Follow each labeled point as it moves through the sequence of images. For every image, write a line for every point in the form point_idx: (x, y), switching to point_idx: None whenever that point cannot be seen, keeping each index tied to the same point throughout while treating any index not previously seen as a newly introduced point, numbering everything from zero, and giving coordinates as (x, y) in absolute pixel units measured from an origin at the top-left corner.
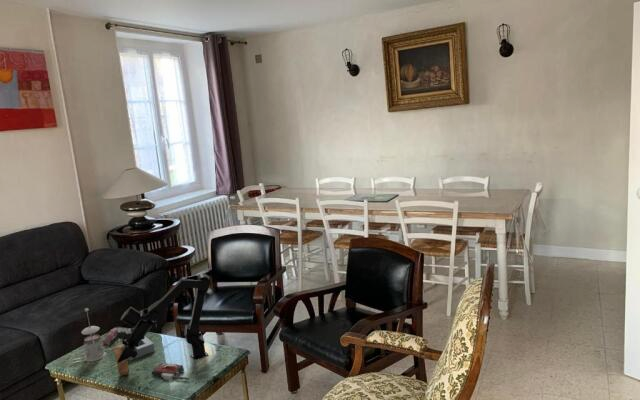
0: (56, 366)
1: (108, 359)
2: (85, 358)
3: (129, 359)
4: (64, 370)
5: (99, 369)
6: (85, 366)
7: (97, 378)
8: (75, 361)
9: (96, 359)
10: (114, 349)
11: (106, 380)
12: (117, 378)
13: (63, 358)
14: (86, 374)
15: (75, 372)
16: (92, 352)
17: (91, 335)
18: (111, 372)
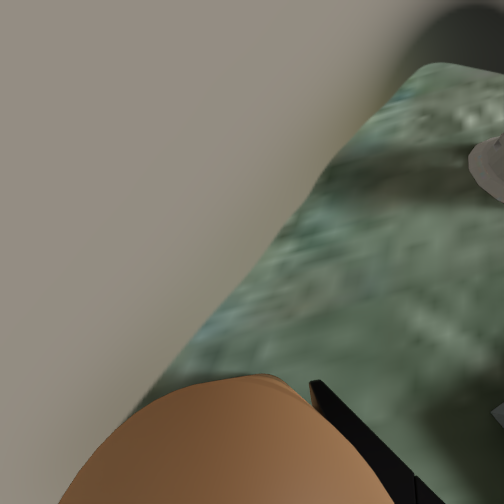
0: (423, 75)
1: (497, 247)
2: (494, 138)
3: (498, 413)
4: (386, 105)
5: (373, 229)
6: (414, 161)
7: (274, 245)
8: (466, 114)
9: (488, 186)
10: (147, 407)
11: (233, 299)
12: (231, 366)
13: (492, 73)
14: (332, 186)
15: (361, 142)
16: None
17: None
18: (323, 306)
